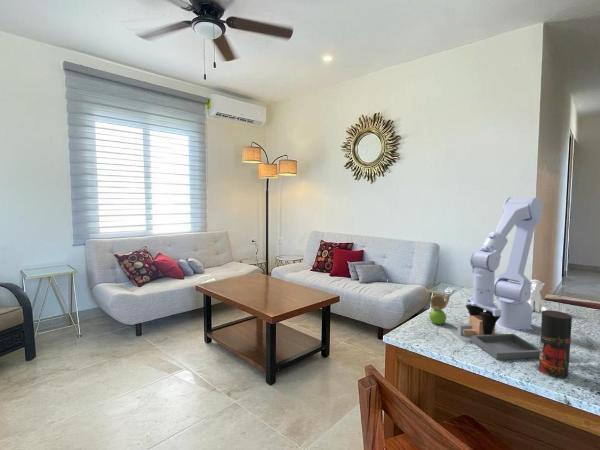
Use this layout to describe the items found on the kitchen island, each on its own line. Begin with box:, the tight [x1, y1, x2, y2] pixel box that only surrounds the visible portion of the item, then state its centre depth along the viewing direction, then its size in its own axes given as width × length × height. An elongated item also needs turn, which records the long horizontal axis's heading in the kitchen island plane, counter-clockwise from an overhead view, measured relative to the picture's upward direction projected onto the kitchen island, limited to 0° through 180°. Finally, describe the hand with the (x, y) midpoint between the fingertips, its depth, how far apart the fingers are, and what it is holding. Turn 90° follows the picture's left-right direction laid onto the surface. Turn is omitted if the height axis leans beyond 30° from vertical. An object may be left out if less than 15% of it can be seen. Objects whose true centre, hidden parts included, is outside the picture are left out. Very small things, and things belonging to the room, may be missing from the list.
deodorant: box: [538, 309, 573, 379], centre depth 84 cm, size 6×6×15 cm
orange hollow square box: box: [463, 315, 496, 335], centre depth 107 cm, size 9×5×5 cm, turn 95°
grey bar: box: [457, 323, 472, 336], centre depth 107 cm, size 8×2×4 cm, turn 95°
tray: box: [470, 333, 540, 361], centre depth 96 cm, size 14×12×2 cm
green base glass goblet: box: [429, 290, 451, 326], centre depth 116 cm, size 5×6×12 cm
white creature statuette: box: [527, 279, 549, 314], centre depth 131 cm, size 10×9×12 cm
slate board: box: [447, 328, 498, 342], centre depth 107 cm, size 14×9×1 cm, turn 95°
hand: (481, 330), depth 107 cm, fingers open, 5 cm apart
